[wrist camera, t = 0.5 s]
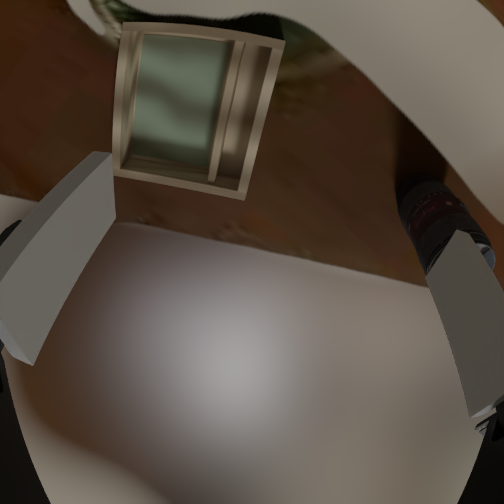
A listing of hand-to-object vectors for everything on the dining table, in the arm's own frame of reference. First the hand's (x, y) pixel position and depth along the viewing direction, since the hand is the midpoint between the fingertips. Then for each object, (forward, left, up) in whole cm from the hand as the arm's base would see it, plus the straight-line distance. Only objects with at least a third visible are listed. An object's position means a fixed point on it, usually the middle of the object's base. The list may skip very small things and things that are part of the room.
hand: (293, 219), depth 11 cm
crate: (+3, -9, -25) cm, 27 cm away
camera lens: (+7, +21, -25) cm, 34 cm away
